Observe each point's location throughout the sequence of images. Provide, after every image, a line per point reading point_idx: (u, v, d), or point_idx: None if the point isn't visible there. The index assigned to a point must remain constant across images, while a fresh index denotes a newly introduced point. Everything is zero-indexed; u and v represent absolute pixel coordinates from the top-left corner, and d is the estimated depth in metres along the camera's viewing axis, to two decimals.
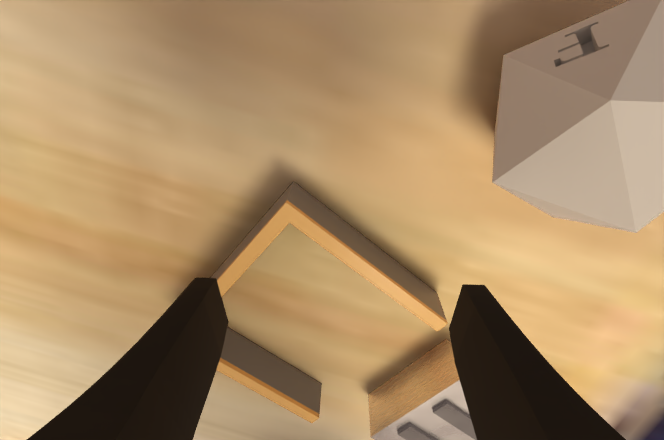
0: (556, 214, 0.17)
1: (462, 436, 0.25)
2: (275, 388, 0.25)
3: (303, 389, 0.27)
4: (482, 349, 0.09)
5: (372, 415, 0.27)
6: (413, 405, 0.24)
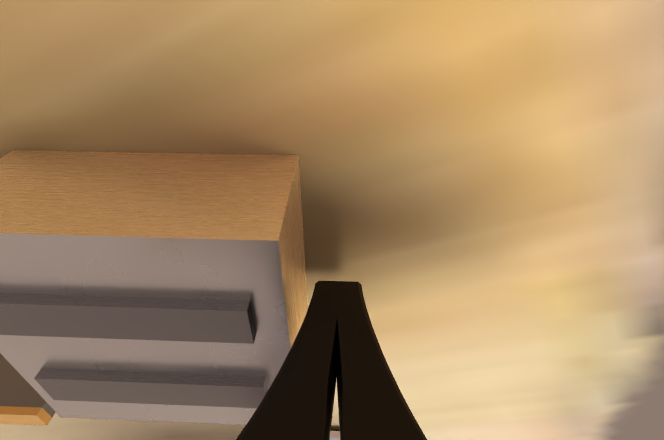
0: None
1: (153, 343, 0.09)
2: None
3: (22, 377, 0.15)
4: (338, 345, 0.09)
5: None
6: None
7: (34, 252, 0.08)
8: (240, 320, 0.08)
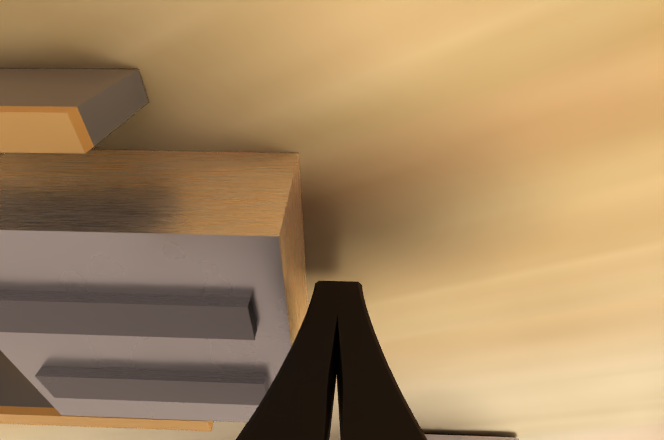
0: None
1: (154, 340, 0.09)
2: None
3: None
4: (338, 345, 0.09)
5: None
6: None
7: (35, 248, 0.08)
8: (242, 315, 0.08)
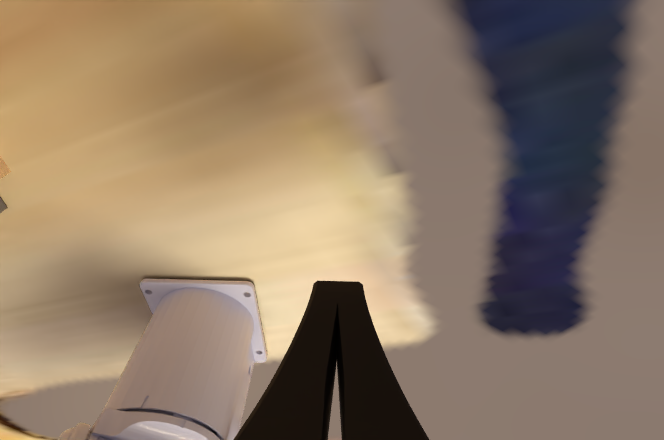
0: None
1: None
2: None
3: None
4: (340, 345, 0.09)
5: None
6: None
7: None
8: None
